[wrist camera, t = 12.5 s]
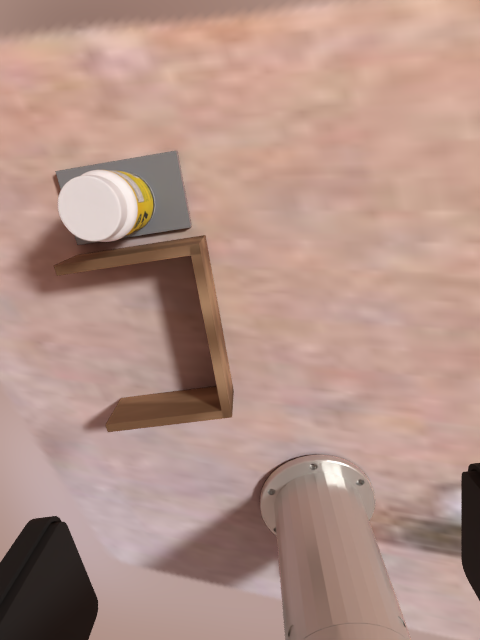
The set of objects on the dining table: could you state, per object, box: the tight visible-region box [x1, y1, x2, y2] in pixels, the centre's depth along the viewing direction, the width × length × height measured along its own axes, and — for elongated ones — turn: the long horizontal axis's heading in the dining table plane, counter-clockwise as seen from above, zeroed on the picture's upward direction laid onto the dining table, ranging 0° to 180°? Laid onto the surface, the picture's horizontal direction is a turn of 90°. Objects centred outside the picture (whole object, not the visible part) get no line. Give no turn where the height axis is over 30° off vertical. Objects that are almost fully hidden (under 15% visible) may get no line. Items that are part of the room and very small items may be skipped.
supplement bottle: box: [58, 170, 155, 242], centre depth 27 cm, size 5×5×8 cm
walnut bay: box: [54, 235, 234, 432], centre depth 34 cm, size 16×12×4 cm
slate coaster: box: [55, 151, 192, 245], centre depth 32 cm, size 6×10×1 cm, turn 99°
